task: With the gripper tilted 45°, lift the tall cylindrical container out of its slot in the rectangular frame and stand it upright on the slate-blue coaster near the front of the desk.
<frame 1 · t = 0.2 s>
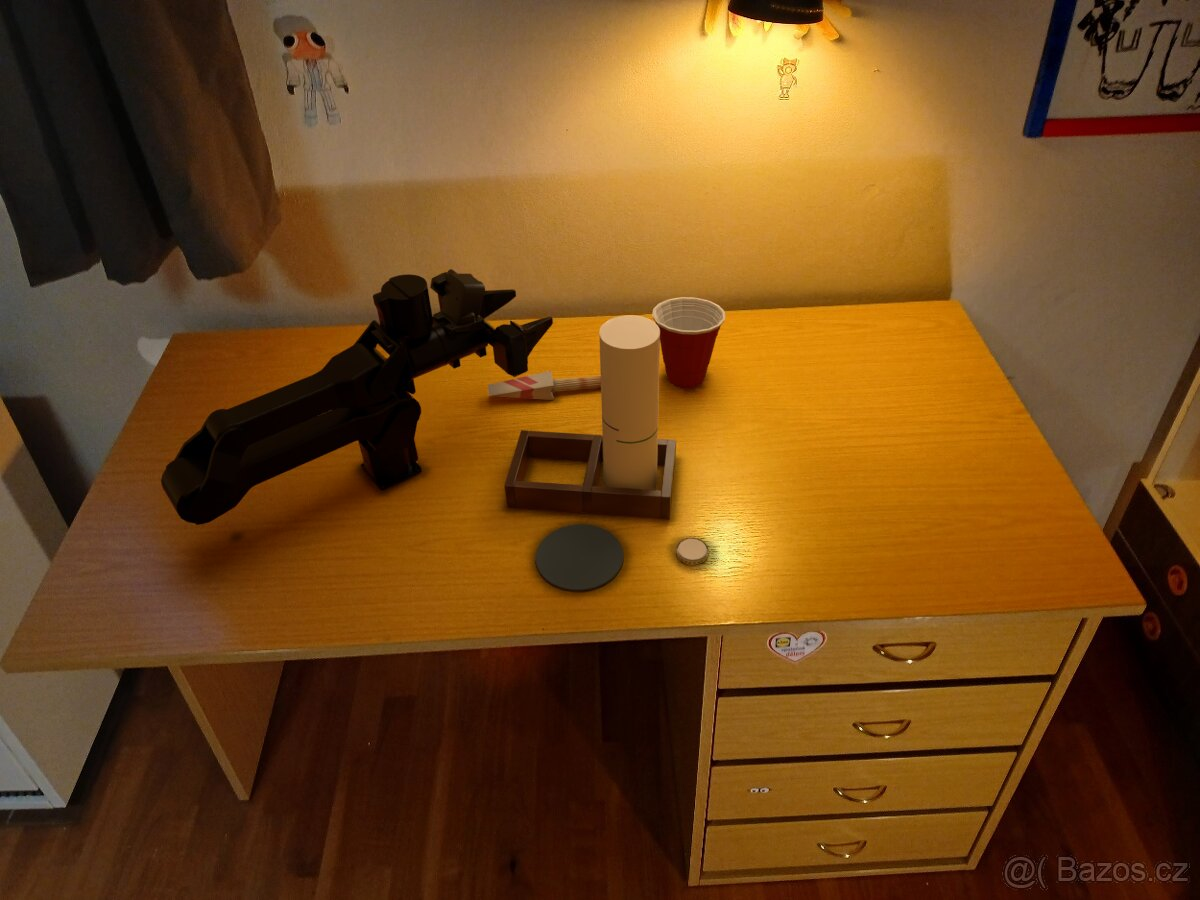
hand: (533, 306, 127), 17 cm above the table, tool horizontal, fingers open, 9 cm apart
rectangular frame: (593, 484, 124), on the table
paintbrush: (554, 393, 140), on the table
bottle cap: (692, 553, 114), on the table
cylindrical container: (630, 487, 124), resting in rectangular frame
coaster: (579, 557, 114), on the table
plastic cup: (685, 378, 142), on the table
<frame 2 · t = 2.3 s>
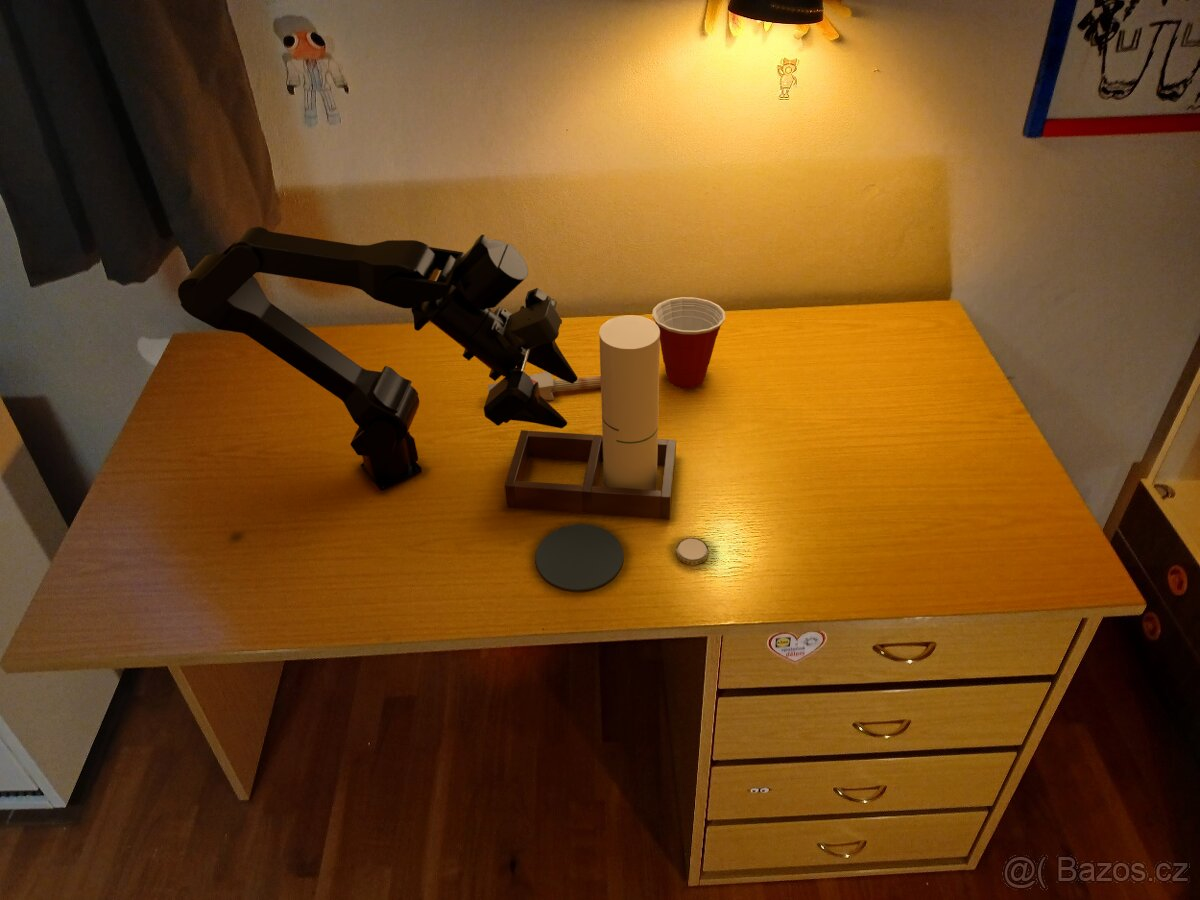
hand: (570, 402, 115), 14 cm above the table, tool tilted 45°, fingers open, 9 cm apart
nothing on the table moved.
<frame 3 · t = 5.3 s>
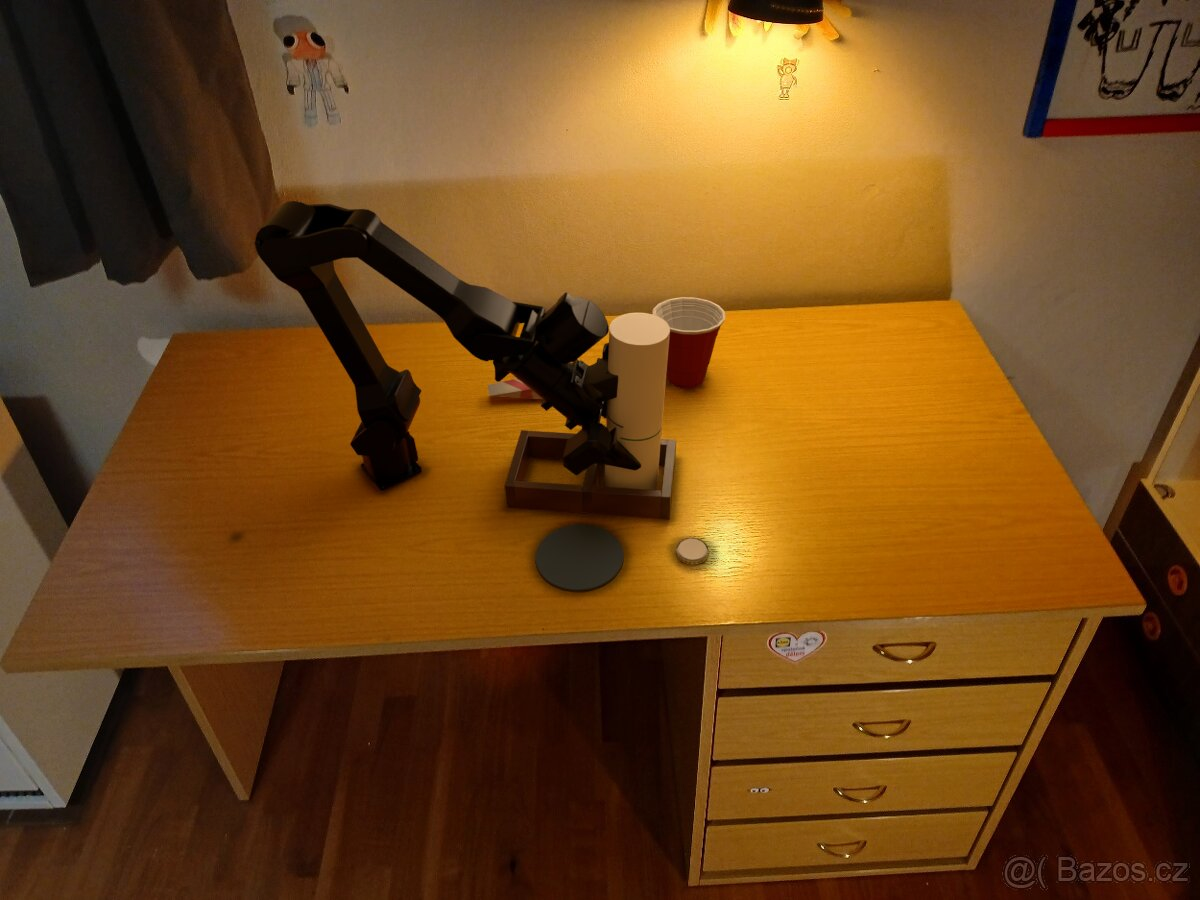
hand: (641, 450, 119), 7 cm above the table, tool tilted 45°, fingers closed on cylindrical container, 7 cm apart
cylindrical container: (630, 486, 123), resting in rectangular frame, touching gripper
everything else where it was.
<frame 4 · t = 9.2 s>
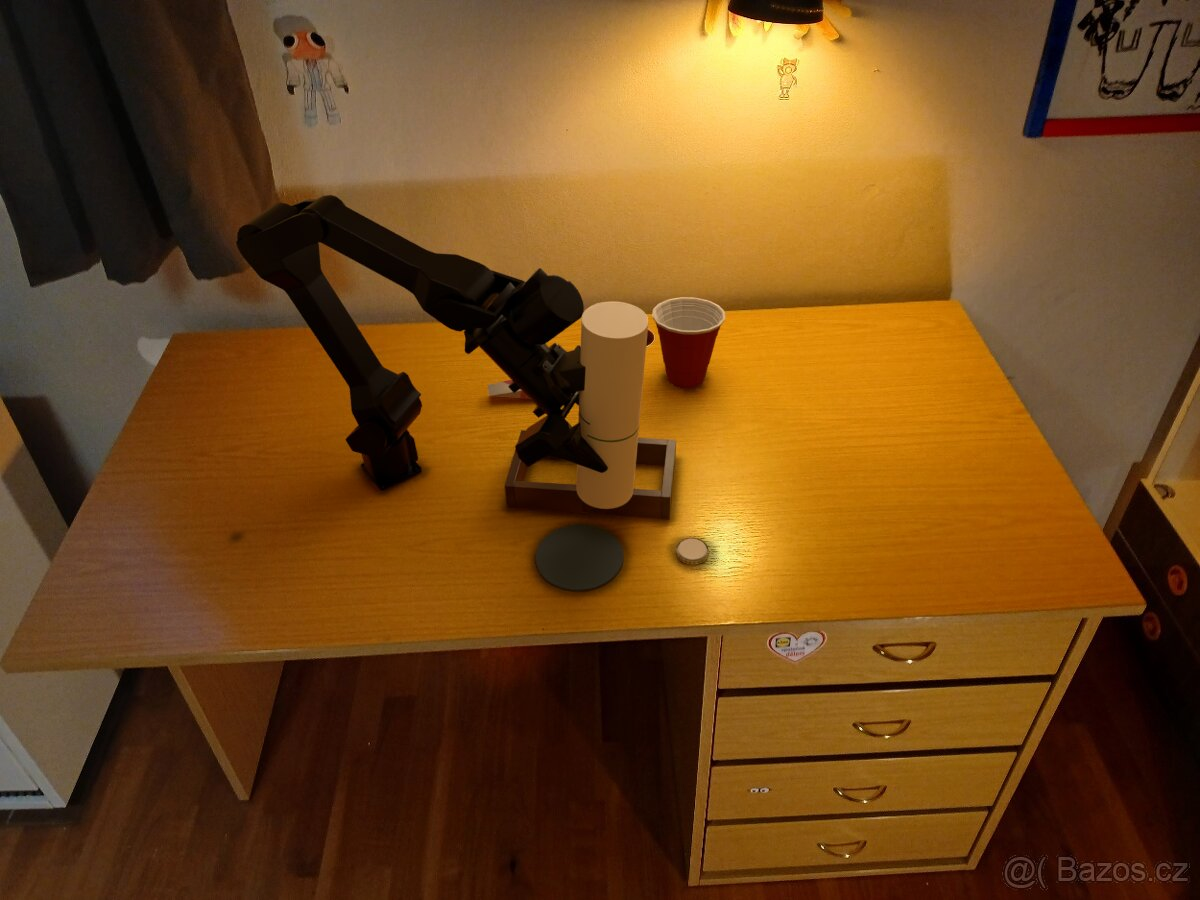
hand: (615, 452, 109), 13 cm above the table, tool tilted 45°, fingers closed on cylindrical container, 6 cm apart
cylindrical container: (604, 489, 114), point 6 cm above the table, touching gripper
everything else where it was.
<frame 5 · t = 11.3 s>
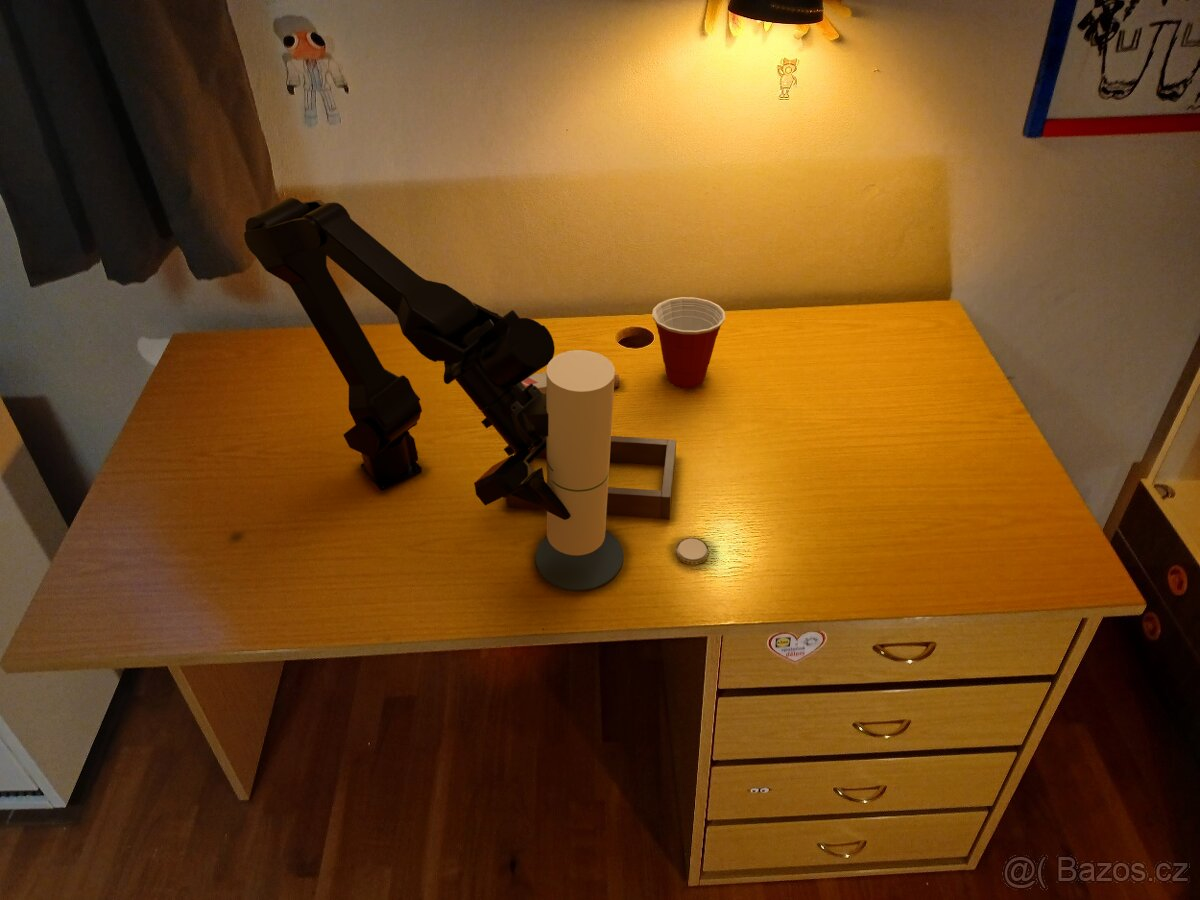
hand: (584, 500, 106), 11 cm above the table, tool tilted 45°, fingers closed on cylindrical container, 6 cm apart
cylindrical container: (576, 534, 112), point 4 cm above the table, touching gripper
everything else where it was.
when the fingers open (7 cm above the table, at t = 13.1 s): cylindrical container stays where it is, resting on coaster.
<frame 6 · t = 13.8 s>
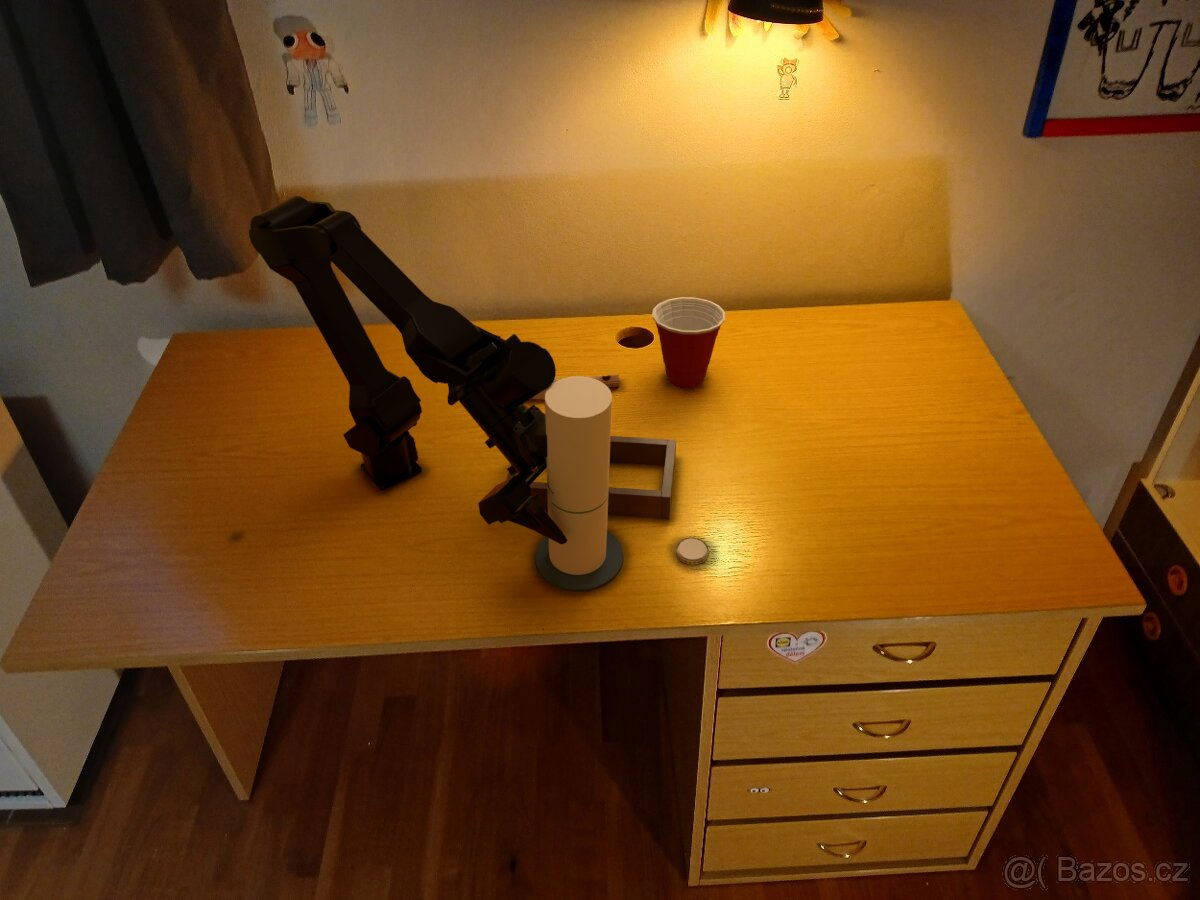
hand: (586, 518, 108), 8 cm above the table, tool tilted 45°, fingers open, 9 cm apart
cylindrical container: (577, 554, 114), resting on coaster
everything else where it was.
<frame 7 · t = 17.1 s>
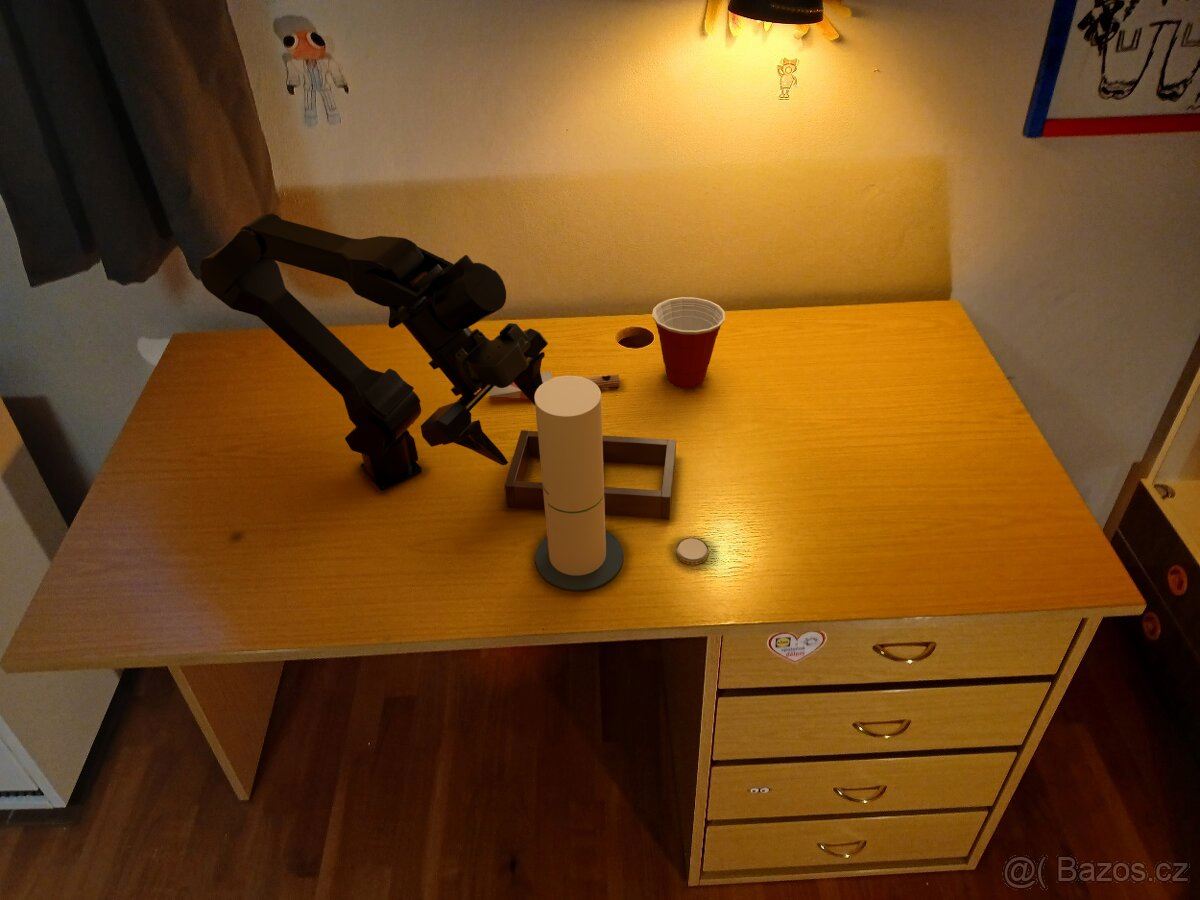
hand: (528, 439, 111), 13 cm above the table, tool tilted 40°, fingers open, 9 cm apart
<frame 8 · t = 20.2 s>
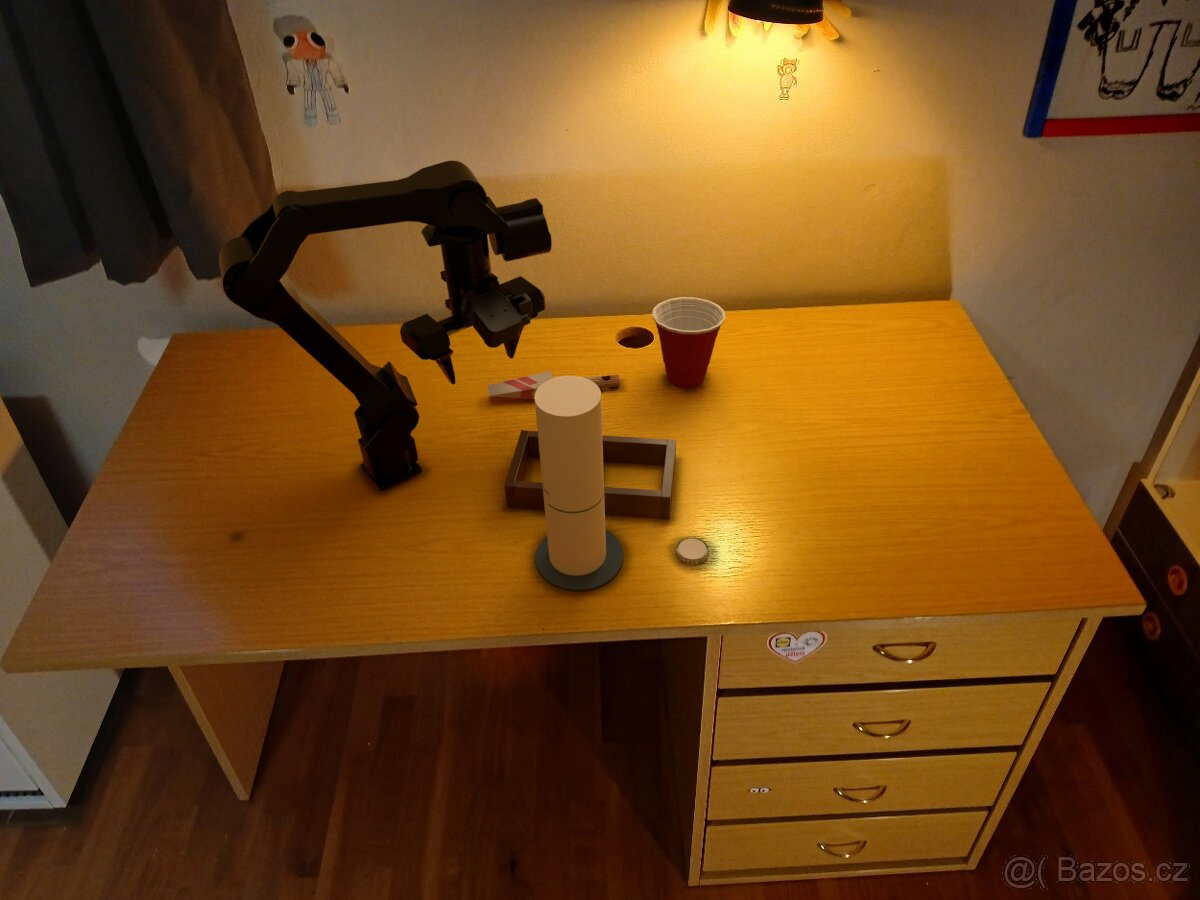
hand: (481, 369, 122), 13 cm above the table, tool pointing down, fingers open, 9 cm apart
nothing on the table moved.
at the end: cylindrical container 0.4 cm off-centre on the coaster, point 0.2 cm above the coaster's base; cylindrical container tilted 0°; the gripper is holding nothing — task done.
